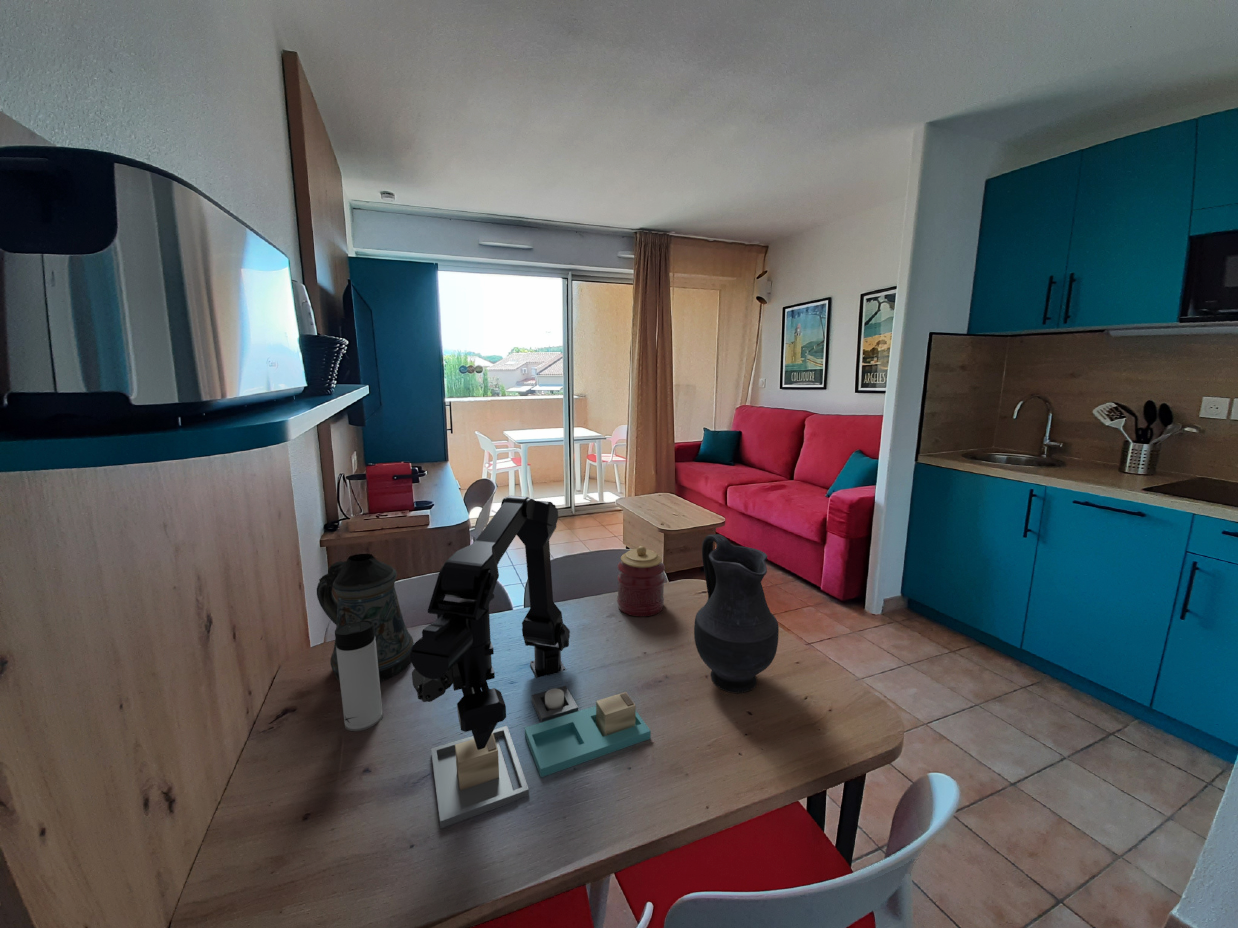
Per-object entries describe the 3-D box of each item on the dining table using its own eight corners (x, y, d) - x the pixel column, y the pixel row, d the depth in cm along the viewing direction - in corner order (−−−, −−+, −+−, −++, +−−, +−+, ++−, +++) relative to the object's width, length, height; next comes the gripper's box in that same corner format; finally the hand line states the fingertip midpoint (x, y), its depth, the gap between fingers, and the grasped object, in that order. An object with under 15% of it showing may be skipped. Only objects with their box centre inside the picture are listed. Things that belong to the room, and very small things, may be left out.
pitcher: (723, 715, 94) (731, 569, 88) (668, 657, 112) (673, 533, 106) (792, 692, 101) (805, 555, 95) (730, 641, 119) (738, 523, 113)
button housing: (532, 706, 96) (531, 694, 95) (565, 696, 99) (565, 685, 98) (542, 730, 89) (542, 718, 89) (578, 718, 92) (578, 707, 92)
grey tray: (431, 758, 83) (431, 748, 82) (507, 735, 88) (507, 725, 88) (441, 832, 70) (440, 821, 69) (529, 800, 75) (528, 789, 75)
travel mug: (344, 740, 86) (332, 637, 82) (345, 717, 92) (334, 619, 88) (383, 729, 89) (374, 629, 85) (382, 706, 95) (373, 612, 91)
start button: (542, 702, 94) (542, 691, 94) (560, 697, 96) (560, 686, 96) (548, 714, 91) (548, 702, 91) (566, 708, 93) (566, 697, 92)
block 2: (596, 724, 89) (596, 700, 88) (625, 715, 92) (625, 691, 91) (604, 739, 86) (605, 714, 85) (635, 729, 88) (635, 704, 87)
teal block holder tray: (524, 739, 87) (524, 727, 87) (625, 707, 95) (625, 696, 95) (541, 782, 78) (540, 768, 78) (650, 743, 87) (650, 730, 86)
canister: (613, 615, 131) (613, 553, 127) (621, 593, 143) (621, 536, 140) (661, 619, 129) (663, 556, 125) (665, 597, 141) (667, 539, 138)
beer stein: (408, 680, 103) (399, 569, 98) (304, 695, 98) (289, 579, 93) (419, 638, 119) (411, 541, 114) (329, 649, 114) (318, 548, 109)
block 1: (456, 771, 79) (455, 743, 78) (494, 759, 82) (492, 732, 81) (460, 790, 76) (458, 761, 75) (499, 776, 78) (498, 749, 77)
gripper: (410, 620, 79) (417, 705, 82) (417, 688, 62) (425, 792, 65) (480, 606, 83) (484, 687, 87) (505, 667, 67) (508, 764, 70)
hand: (475, 727), depth 77 cm, fingers open, 9 cm apart
